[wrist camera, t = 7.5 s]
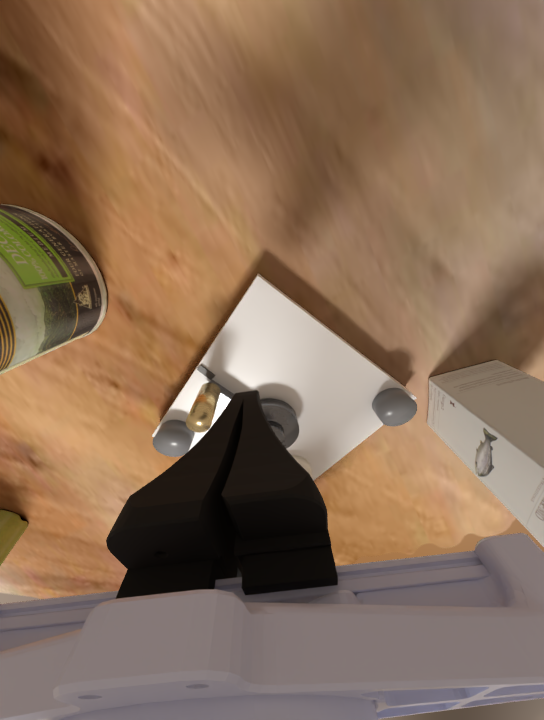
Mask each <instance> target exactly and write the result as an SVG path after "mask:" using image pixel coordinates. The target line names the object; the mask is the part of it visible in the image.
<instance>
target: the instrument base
mask: <svg viewBox="0 0 544 720" xmlns="http://www.w3.org/2000/svg"><path fill="white" fill-rule="evenodd" d="M211 379H212V380H214V381H215V382H217V383H218V384H220V385H221V386H223V387H224V388H226V389H227V390H229V391H230V392H232V393H233V394H235V393H239V392H247V391H254V390H257V391H259V395H260V399H265V398H273V399H279V400H282V401H284V402H286V403H288V404H289V405H290V406H291V407H292V408H293V409H294V411H295V412H296V415H297V420H298V425H299V435H298V437H297V439H296V441H295V442H294V443H293V444H292V445H291V446H290V447H288V448H287V450H288V452H289V453H290V454H291V455H292V456H293V458H294V459H295V460H296V461H297V462H298V463H299V464H300V465H301V466H302V467H303V468H304V469H305V470H306V471H307V472H308V473H309V474H310V476H311V478H312V479H313V481H314V480H315V479H316V478H317V477H319V476H320V475H321V474H322V473H324V472H325V471H326V470H327V469H329V468H330V467H331V466H332V465H334V464H335V463H336V462H337V461H339V460H340V459H341V458H342V457H344V456H345V455H346V454H347V453H349V452H350V451H351V450H352V449H354V448H355V447H356V446H357V445H359V444H360V443H361V442H362V441H364V440H365V439H366V438H368V437H369V436H370V435H371V434H373V433H374V432H375V431H376V430H378V429H379V428H380V427H381V426H383V425H384V424H385V425H387V426H399V425H402V424H404V423H406V422H408V421H409V420H410V419H412V418H413V416H414V415H415V413H416V411H417V404H416V402H415V401H414V400H415V399H416V397H415V396H414V395H413V394H412V393H411V392H410V391H409V390H408V389H407V388H406V387H404V386H403V385H402V384H401V383H399V382H398V381H397V380H395V379H394V378H393V377H392V376H390V375H389V374H388V373H386V372H385V371H384V370H382V369H381V368H380V367H379V366H377V365H376V364H375V363H373V362H372V361H371V360H370V359H368V358H367V357H366V356H364V355H363V354H362V353H361V352H359V351H358V350H357V349H355V348H354V347H353V346H352V345H350V344H349V343H348V342H346V341H345V340H344V339H342V338H341V337H340V336H339V335H337V334H336V333H335V332H333V331H332V330H331V329H330V328H328V327H327V326H326V325H324V324H323V323H322V322H321V321H319V320H318V319H317V318H315V317H314V316H313V315H311V314H310V313H309V312H308V311H306V310H305V309H304V308H302V307H301V306H300V305H299V304H297V303H296V302H295V301H293V300H292V299H291V298H290V297H288V296H287V295H286V294H284V293H283V292H282V291H281V290H279V289H278V288H277V287H275V286H274V285H273V284H271V283H270V282H269V281H268V280H266V279H265V278H264V277H262V276H261V275H260V274H259V273H258V274H257V276H256V277H255V279H254V280H253V282H252V283H251V285H250V286H249V288H248V289H247V291H246V292H245V294H244V295H243V297H242V298H241V300H240V301H239V303H238V304H237V306H236V307H235V309H234V311H233V312H232V314H231V315H230V317H229V318H228V320H227V321H226V323H225V324H224V326H223V327H222V329H221V330H220V332H219V333H218V335H217V336H216V338H215V339H214V341H213V342H212V344H211V346H210V347H209V349H208V350H207V352H206V353H205V355H204V356H203V358H202V359H201V361H200V362H199V364H198V365H197V367H196V368H195V370H194V371H193V373H192V374H191V376H190V377H189V379H188V380H187V382H186V384H185V385H184V387H183V388H182V390H181V391H180V393H179V394H178V396H177V397H176V399H175V400H174V402H173V403H172V405H171V406H170V408H169V409H168V411H167V412H166V414H165V415H164V417H163V418H162V420H161V422H160V423H159V425H158V426H157V428H156V430H155V431H154V433H153V435H152V436H153V437H154V439H153V445H154V447H155V449H156V450H157V451H158V452H160V453H161V454H164V455H166V456H171V457H178V456H182V455H184V454H186V453H187V452H188V451H189V450H190V449H191V448H192V447H194V446H195V445H196V444H197V443H198V441H199V440H200V439H201V438H202V437H203V436H204V435H205V434H206V433H207V432H208V430H207V431H205V432H201V433H199V432H194V431H192V430H190V429H189V428H188V427H187V426H186V419H187V416H188V414H189V412H190V410H191V408H192V405H193V403H194V401H195V399H196V397H197V394H198V392H199V390H200V388H201V386H202V385H203V384H205V383H208V382H209V381H210V380H211ZM223 411H224V408H223V407H221V406H220V405H218V404H217V407H216V410H215V414H214V417H213V420H212V424H211V427H212V425H213V424H214V423H215V422H216V420H217V419H218V418H219V416H220V415H221V413H222V412H223ZM211 427H210V428H211Z"/></svg>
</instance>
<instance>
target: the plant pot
mask: <svg viewBox="0 0 544 720" xmlns="http://www.w3.org/2000/svg"><path fill="white" fill-rule="evenodd" d="M27 527H28V523H27V521H22V520H21V518H20V516H19V515H18V514H16V513H14V512H9V511H5V510H0V566H1V564H2V563H3V561H4V560H5V558H6V557H7V555H8V554H9V553H10V551H11V550H12V548H13V547H14V545H15V544H16V543H17V541H18V540H19V538H20V537H21V536H22V534H23V533H24V531H25V530H26V528H27Z"/></svg>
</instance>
